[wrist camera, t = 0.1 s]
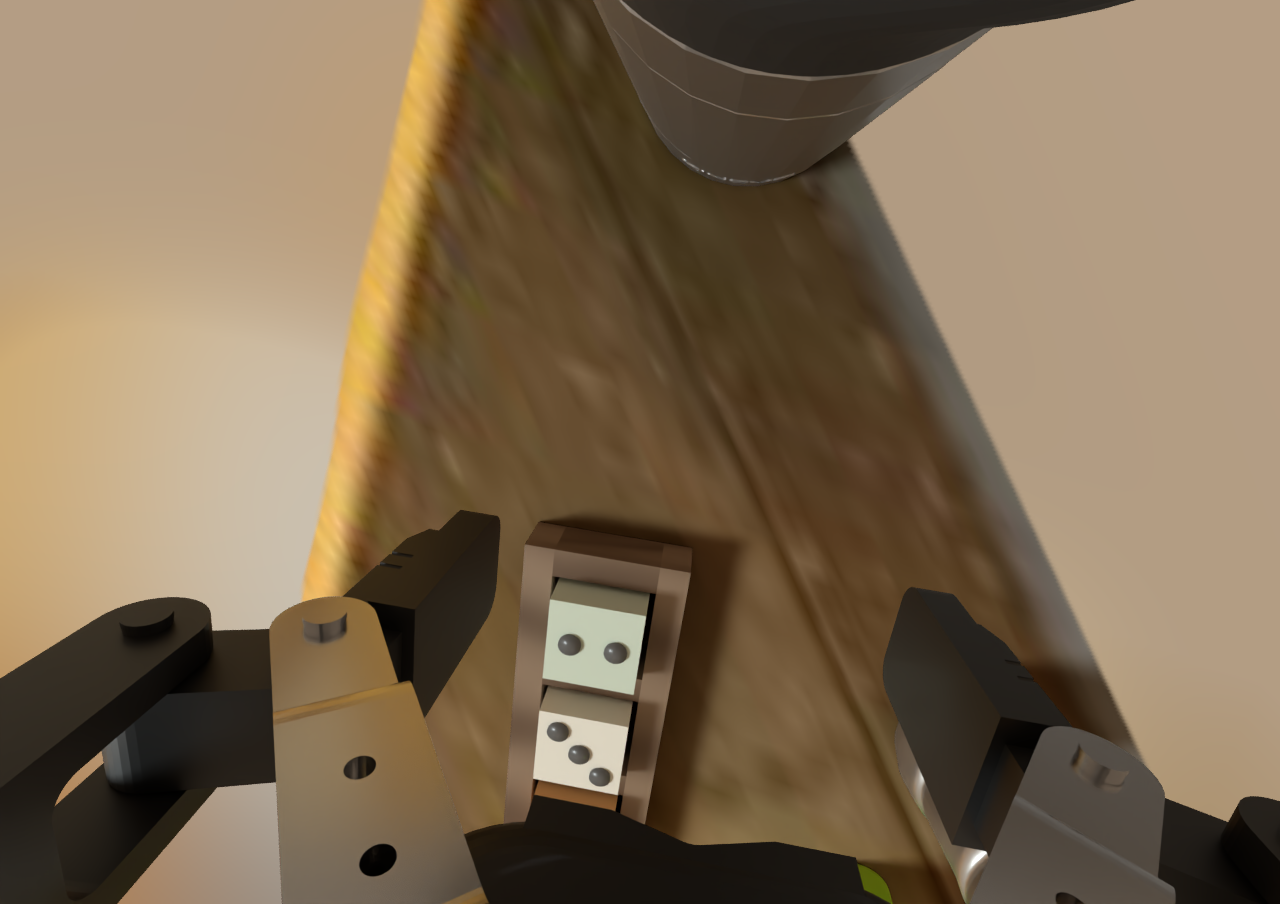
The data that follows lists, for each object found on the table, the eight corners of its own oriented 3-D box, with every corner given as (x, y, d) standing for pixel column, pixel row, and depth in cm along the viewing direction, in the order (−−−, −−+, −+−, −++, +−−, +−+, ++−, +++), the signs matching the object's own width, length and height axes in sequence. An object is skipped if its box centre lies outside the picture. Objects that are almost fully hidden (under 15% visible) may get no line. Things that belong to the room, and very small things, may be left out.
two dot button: (564, 566, 31) (549, 601, 28) (651, 581, 30) (645, 618, 28) (557, 640, 32) (541, 680, 29) (640, 655, 32) (633, 697, 29)
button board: (538, 521, 31) (524, 544, 29) (692, 547, 31) (690, 572, 28) (513, 819, 38) (501, 856, 36) (638, 843, 38) (633, 883, 35)
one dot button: (544, 761, 35) (529, 809, 32) (620, 776, 35) (612, 825, 32) (538, 818, 37) (523, 868, 34) (611, 832, 36) (603, 885, 33)
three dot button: (554, 670, 33) (538, 712, 30) (635, 685, 33) (627, 729, 30) (547, 734, 34) (532, 780, 31) (625, 749, 34) (617, 797, 31)
